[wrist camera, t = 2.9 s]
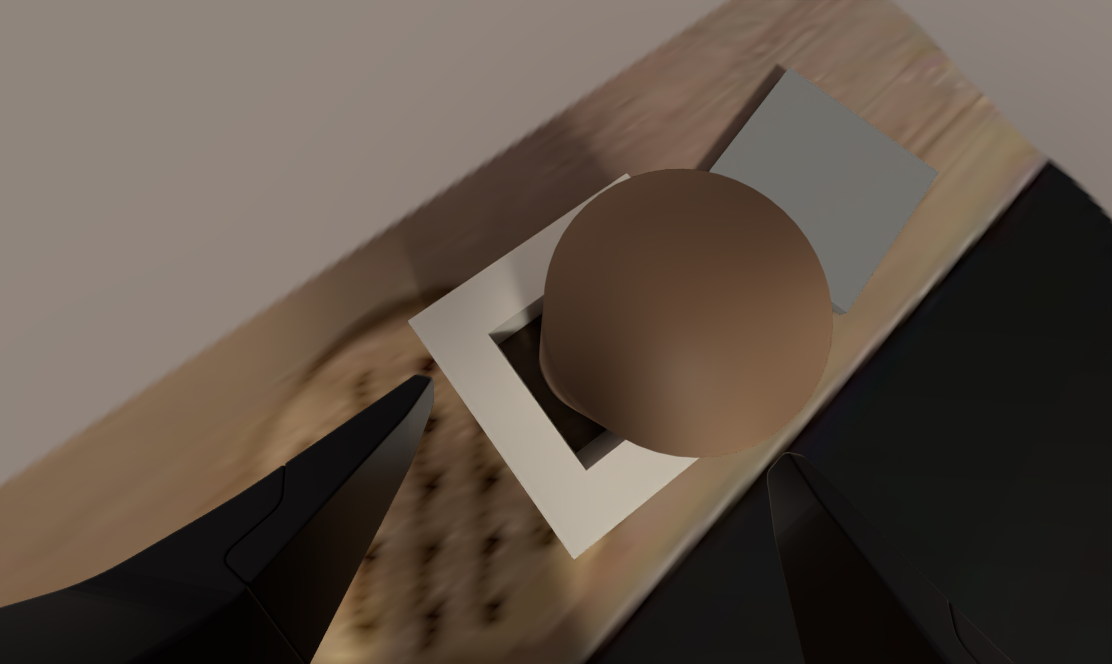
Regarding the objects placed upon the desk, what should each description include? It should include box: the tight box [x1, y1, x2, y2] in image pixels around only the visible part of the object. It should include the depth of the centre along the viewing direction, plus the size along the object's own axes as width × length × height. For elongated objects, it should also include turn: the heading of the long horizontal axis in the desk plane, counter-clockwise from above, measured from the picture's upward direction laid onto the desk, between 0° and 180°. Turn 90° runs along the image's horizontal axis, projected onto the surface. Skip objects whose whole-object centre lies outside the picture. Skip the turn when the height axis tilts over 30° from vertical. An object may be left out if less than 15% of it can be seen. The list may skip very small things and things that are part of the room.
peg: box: [539, 169, 833, 458], centre depth 13 cm, size 5×5×13 cm
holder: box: [408, 173, 698, 559], centre depth 17 cm, size 11×11×4 cm
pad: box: [709, 67, 939, 315], centre depth 21 cm, size 10×10×1 cm
